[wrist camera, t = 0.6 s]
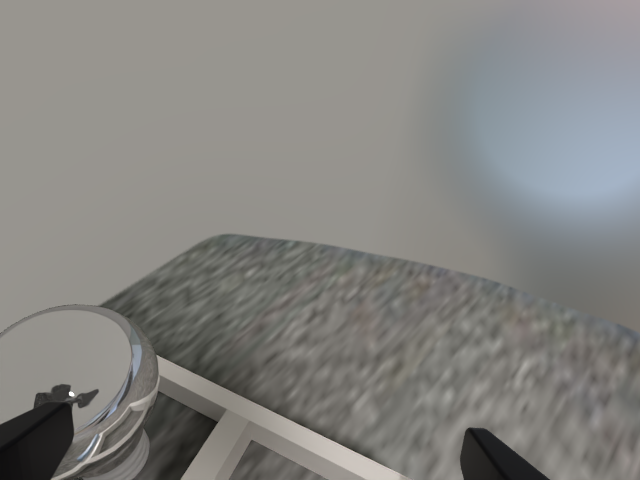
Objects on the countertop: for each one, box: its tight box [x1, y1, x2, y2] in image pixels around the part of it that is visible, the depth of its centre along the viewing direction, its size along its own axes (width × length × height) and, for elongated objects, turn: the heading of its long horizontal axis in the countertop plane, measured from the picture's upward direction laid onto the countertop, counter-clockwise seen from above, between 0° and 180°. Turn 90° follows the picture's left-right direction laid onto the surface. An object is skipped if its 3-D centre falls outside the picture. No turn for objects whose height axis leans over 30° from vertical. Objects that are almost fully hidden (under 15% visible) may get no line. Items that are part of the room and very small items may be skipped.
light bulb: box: [0, 304, 160, 480], centre depth 17 cm, size 7×7×12 cm
